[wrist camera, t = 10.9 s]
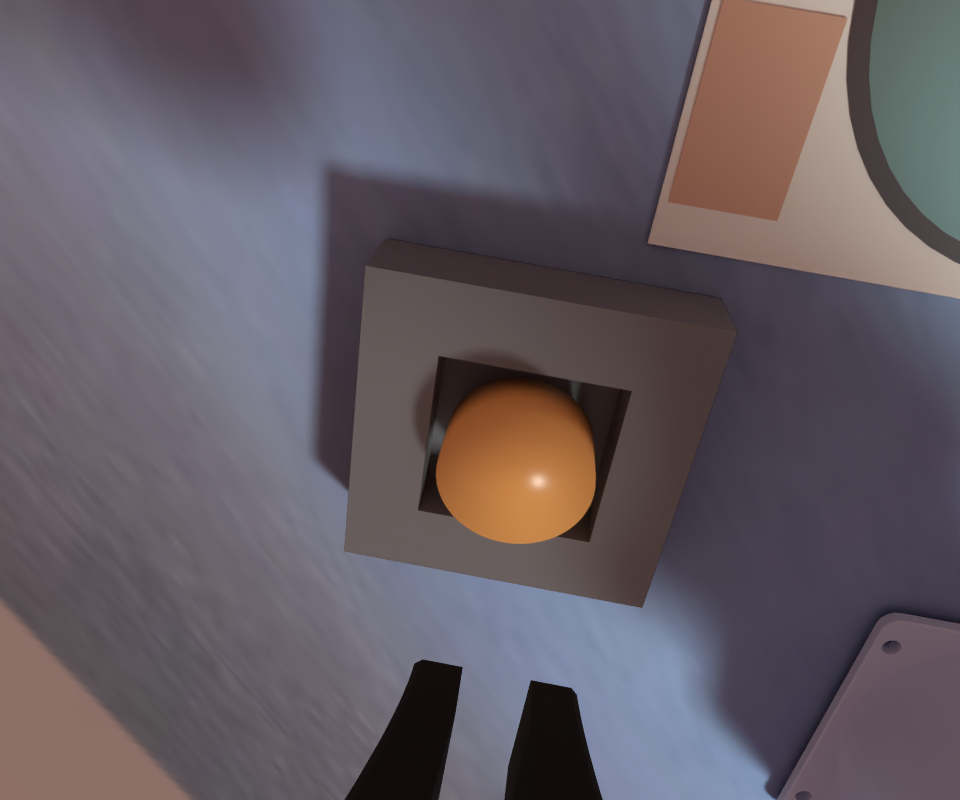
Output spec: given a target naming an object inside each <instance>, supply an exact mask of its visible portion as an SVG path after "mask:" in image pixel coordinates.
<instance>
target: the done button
mask: <svg viewBox="0 0 960 800" xmlns="http://www.w3.org/2000/svg"><path fill="white" fill-rule="evenodd" d="M436 480H437V486H438V490H439V493H440V496H441V498H442V501H443V502H444V504H445V506H446V507H447V509H448V510H449V511H450V513H451V514H452V515H453V516H454V517H455V518H456V519H457V520H458V521H459V522H460V523H461V524H463V525H464V526H465V527H467V528H468V529H470V530H471V531H473V532H475V533H477V534H479V535H481V536H483V537H486V538H488V539H491V540H495V541H499V542H504V543H511V544H528V543H536V542H542V541H545V540H548V539H551V538H554V537H556V536H558V535H561V534H562V533H564V532H566V531H567V530H569V529H570V528H571V527H573V526H574V525H575V524H576V523H577V522H578V521H579V520H580V519H581V518H582V517H583V516H584V514H585V513H586V512H587V510H588V508H589V506H590V505H591V502H592V499H593V497H594V492H595V487H596V472H595V449H594V436H593V430H592V427H591V423H590V421H589V419H588V417H587V415H586V414H585V412H584V410H583V409H582V408H581V406H580V405H579V404H578V403H577V402H576V401H575V400H574V399H573V398H572V397H571V396H570V395H568V394H567V393H565V392H564V391H563V390H561V389H559V388H557V387H555V386H553V385H551V384H548V383H546V382H543V381H539V380H535V379H529V378H505V379H500V380H495V381H492V382H489V383H486V384H484V385H482V386H480V387H478V388H476V389H475V390H473V391H472V392H470V393H469V394H468V395H467V396H466V397H464V398H463V399H462V400H461V402H460V403H459V404H458V405H457V407H456V408H455V410H454V412H453V413H452V415H451V418H450V420H449V423H448V427H447V430H446V434H445V437H444V440H443V444H442V447H441V451H440V454H439V458H438V462H437V467H436Z"/></svg>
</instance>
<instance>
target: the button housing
mask: <svg viewBox="0 0 960 800" xmlns="http://www.w3.org/2000/svg"><path fill="white" fill-rule="evenodd" d="M736 335H737V330H736V328H735V326H734V324H733V322H732V320H731V318H730V316H729V314H728V311H727V309H726V307H725V305H724V303H723V301H722V299H721V298H716V297H711V296H705V295H700V294H694V293H688V292H683V291H677V290H672V289H666V288H660V287H655V286H649V285H644V284H638V283H632V282H627V281H621V280H615V279H610V278H604V277H599V276H593V275H587V274H582V273H576V272H571V271H565V270H559V269H554V268H548V267H543V266H537V265H531V264H526V263H520V262H514V261H509V260H503V259H498V258H492V257H486V256H481V255H475V254H470V253H464V252H458V251H453V250H447V249H442V248H436V247H430V246H425V245H419V244H414V243H408V242H402V241H397V240H391V239H385V240H384V242H383V243H382V244H381V246H380V247H379V248H378V250H377V251H376V252H375V254H374V255H373V256H372V258H371V259H370V260H369V262H368V263H367V264H366V266H365V278H364V291H363V305H362V318H361V332H360V345H359V359H358V372H357V386H356V399H355V412H354V426H353V439H352V453H351V466H350V480H349V493H348V507H347V520H346V534H345V547H344V551H345V552H350V553H355V554H361V555H366V556H371V557H376V558H382V559H387V560H392V561H398V562H403V563H408V564H413V565H419V566H424V567H429V568H435V569H440V570H445V571H450V572H456V573H461V574H466V575H471V576H477V577H482V578H487V579H493V580H498V581H503V582H508V583H514V584H519V585H524V586H530V587H535V588H540V589H545V590H551V591H556V592H561V593H567V594H572V595H577V596H582V597H588V598H593V599H598V600H604V601H609V602H614V603H619V604H625V605H630V606H635V607H641V608H642V607H643V604H644V601H645V598H646V596H647V593H648V590H649V587H650V584H651V581H652V578H653V575H654V572H655V570H656V567H657V564H658V561H659V558H660V555H661V552H662V549H663V546H664V543H665V541H666V538H667V535H668V532H669V529H670V526H671V523H672V520H673V517H674V515H675V512H676V509H677V506H678V503H679V500H680V497H681V494H682V491H683V489H684V486H685V483H686V480H687V477H688V474H689V471H690V468H691V465H692V463H693V460H694V457H695V454H696V451H697V448H698V445H699V442H700V439H701V437H702V434H703V431H704V428H705V425H706V422H707V419H708V416H709V413H710V411H711V408H712V405H713V402H714V399H715V396H716V393H717V390H718V387H719V384H720V382H721V379H722V376H723V373H724V370H725V367H726V364H727V361H728V358H729V356H730V353H731V350H732V347H733V344H734V341H735V338H736ZM505 378H529V379H535V380H539V381H543V382H546V383H548V384H551V385H553V386H555V387H557V388H559V389H561V390H563V391H564V392H565V393H567V394H568V395H570V396H571V397H572V398H573V399H574V400H575V401H576V402H577V403H578V404H579V405H580V406H581V408H582V409H583V410H584V412H585V414H586V415H587V417H588V419H589V421H590V423H591V427H592V430H593V436H594V449H595V472H596V487H595V492H594V497H593V499H592V502H591V505H590V506H589V508H588V510H587V512H586V513H585V514H584V516H583V517H582V518H581V519H580V520H579V521H578V522H577V523H576V524H575V525H574V526H573V527H571V528H570V529H569V530H567V531H566V532H564V533H562V534H561V535H558V536H556V537H554V538H551V539H548V540H545V541H542V542H536V543H528V544H511V543H504V542H499V541H495V540H491V539H488V538H486V537H483V536H481V535H479V534H477V533H475V532H473V531H471V530H470V529H468V528H467V527H465V526H464V525H463V524H461V523H460V522H459V521H458V520H457V519H456V518H455V517H454V516H453V515H452V514H451V513H450V511H449V510H448V509H447V507H446V506H445V504H444V502H443V501H442V498H441V496H440V493H439V490H438V486H437V480H436V467H437V462H438V458H439V454H440V451H441V447H442V444H443V440H444V437H445V434H446V430H447V427H448V423H449V420H450V418H451V415H452V413H453V412H454V410H455V408H456V407H457V405H458V404H459V403H460V402H461V400H462V399H463V398H464V397H466V396H467V395H468V394H469V393H470V392H472V391H473V390H475V389H476V388H478V387H480V386H482V385H484V384H486V383H489V382H492V381H495V380H500V379H505Z"/></svg>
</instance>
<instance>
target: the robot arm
mask: <svg viewBox="0 0 960 800" xmlns="http://www.w3.org/2000/svg"><path fill="white" fill-rule="evenodd" d="M888 641H893V642H890V643H885V642H888ZM462 668H463V667H459V666H454V665H449V664H444V663H438V662H433V661H428V660H421V661H419V662H417V663H415V664H414V667H413V670H412V673H411V676H410V679H409V681H408V684H407V686H406V688H405V691H404V693H403V696H402V698H401V700H400V702H399V704H398V706H397V708H396V711H395V713H394V715H393V717H392V719H391V720H390V722H389V724H388V726H387V728H386V730H385V732H384V734H383V736H382V738H381V740H380V741H379V743H378V745H377V747H376V748H375V750H374V752H373V753H372V755H371V757H370V759H369V760H368V762H367V764H366V765H365V767H364V769H363V770H362V772H361V774H360V776H359V777H358V779H357V781H356V782H355V784H354V786H353V787H352V789H351V791H350V792H349V794H348V795H347V797H346V798H345V800H438V799H439V794H440V789H441V784H442V779H443V774H444V769H445V764H446V758H447V753H448V748H449V743H450V738H451V733H452V728H453V723H454V718H455V713H456V706H457V700H458V694H459V687H460V681H461V674H462ZM504 800H602V796H601V793H600V790H599V786H598V783H597V779H596V776H595V772H594V769H593V765H592V761H591V758H590V754H589V750H588V746H587V742H586V738H585V734H584V730H583V725H582V720H581V716H580V711H579V705H578V699H577V695H576V693H575V692H574V691H573V690H572V688H568V687H563V686H558V685H553V684H548V683H542V682H537V681H532V680H531V682H530V686H529V690H528V693H527V697H526V701H525V705H524V709H523V712H522V716H521V720H520V724H519V728H518V731H517V735H516V739H515V743H514V747H513V750H512V754H511V758H510V762H509V766H508V774H507V782H506V791H505V799H504ZM777 800H960V624H958V623H952V622H947V621H942V620H936V619H931V618H926V617H920V616H915V615H910V614H904V613H890V614H887V615H885V616H883V617H881V618H880V619H879V620H878V622H877V623H876V625H875V626H874V628H873V630H872V632H871V633H870V635H869V637H868V639H867V641H866V642H865V644H864V646H863V648H862V649H861V651H860V653H859V655H858V657H857V658H856V660H855V662H854V664H853V665H852V667H851V669H850V671H849V673H848V674H847V676H846V678H845V680H844V681H843V683H842V685H841V687H840V688H839V690H838V692H837V694H836V696H835V697H834V699H833V701H832V703H831V704H830V706H829V708H828V710H827V712H826V713H825V715H824V717H823V719H822V720H821V722H820V724H819V726H818V727H817V729H816V731H815V733H814V735H813V736H812V738H811V740H810V742H809V743H808V745H807V747H806V749H805V751H804V752H803V754H802V756H801V758H800V759H799V761H798V763H797V765H796V766H795V768H794V770H793V772H792V774H791V775H790V777H789V779H788V781H787V782H786V784H785V786H784V788H783V790H782V791H781V793H780V795H779V797H778V798H777Z"/></svg>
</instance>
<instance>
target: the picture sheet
mask: <svg viewBox="0 0 960 800" xmlns="http://www.w3.org/2000/svg"><path fill="white" fill-rule="evenodd" d="M648 244H653V245H659V246H665V247H670V248H676V249H682V250H687V251H693V252H699V253H704V254H710V255H716V256H721V257H727V258H733V259H738V260H744V261H750V262H755V263H761V264H767V265H772V266H778V267H784V268H789V269H795V270H801V271H806V272H812V273H817V274H823V275H829V276H834V277H840V278H846V279H851V280H857V281H863V282H868V283H874V284H880V285H885V286H891V287H897V288H902V289H908V290H914V291H919V292H925V293H931V294H936V295H942V296H948V297H953V298H959V299H960V0H711V4H710V8H709V11H708V15H707V19H706V23H705V27H704V30H703V34H702V38H701V42H700V46H699V49H698V53H697V57H696V61H695V64H694V68H693V72H692V76H691V80H690V83H689V87H688V91H687V95H686V99H685V102H684V106H683V110H682V114H681V118H680V121H679V125H678V129H677V133H676V136H675V140H674V144H673V148H672V152H671V155H670V159H669V163H668V167H667V171H666V174H665V178H664V182H663V186H662V189H661V193H660V197H659V201H658V205H657V208H656V212H655V216H654V220H653V224H652V227H651V231H650V235H649V239H648Z"/></svg>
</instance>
